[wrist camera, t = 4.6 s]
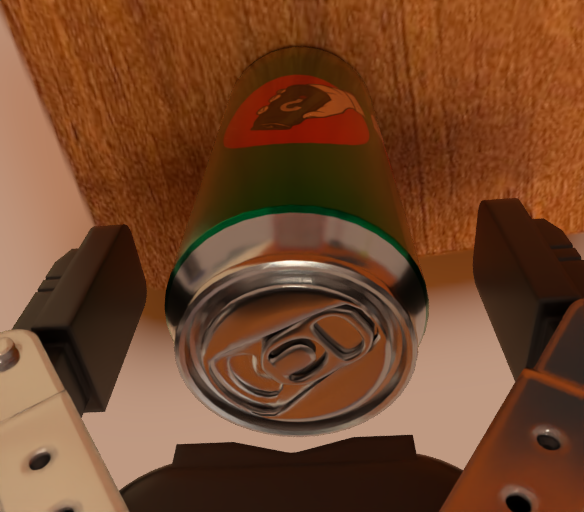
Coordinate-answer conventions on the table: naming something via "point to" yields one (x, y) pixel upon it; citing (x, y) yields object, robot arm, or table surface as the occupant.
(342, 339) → the soda can
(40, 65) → the table surface
